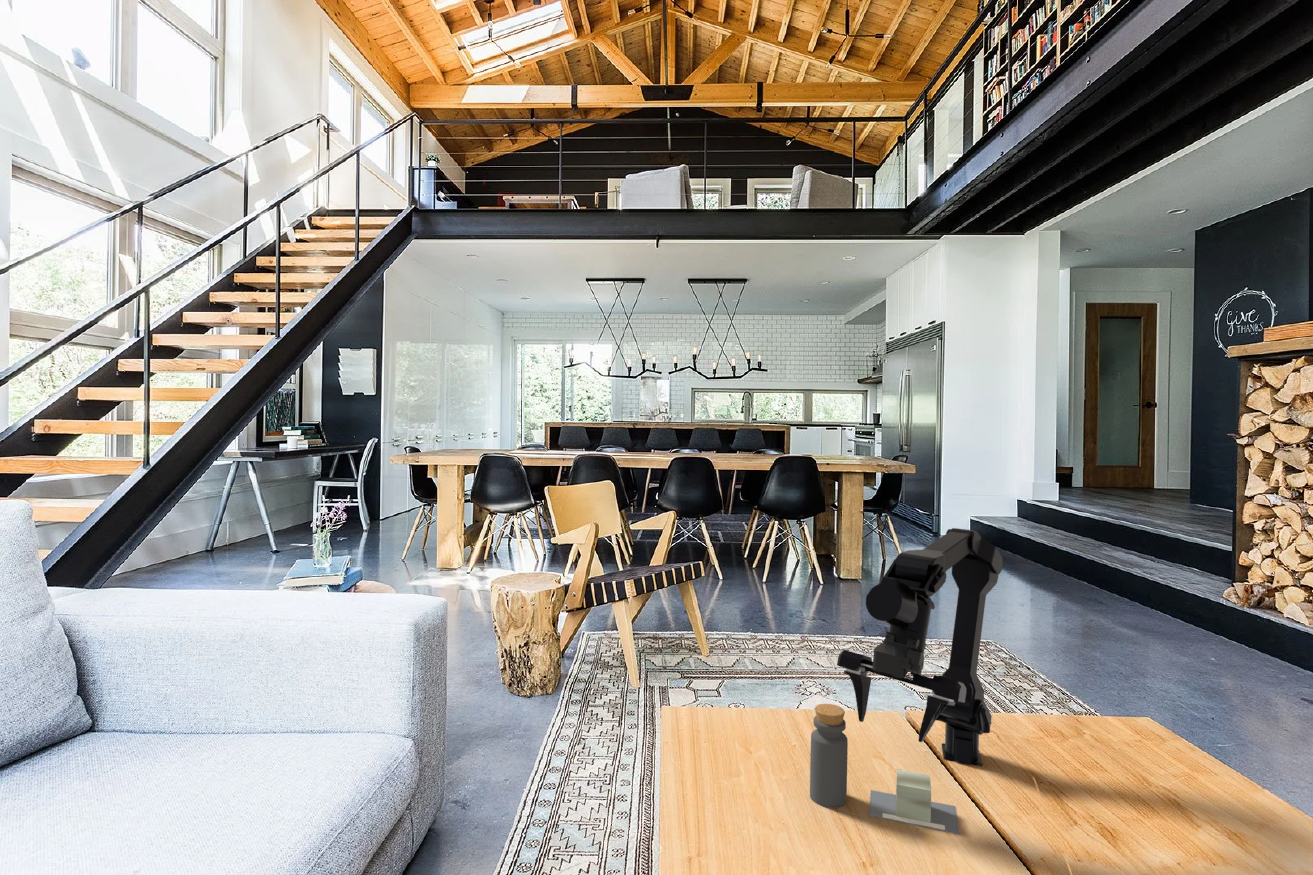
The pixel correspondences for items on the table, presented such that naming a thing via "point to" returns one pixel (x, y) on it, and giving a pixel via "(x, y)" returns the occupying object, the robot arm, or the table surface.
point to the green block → (913, 796)
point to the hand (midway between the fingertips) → (889, 731)
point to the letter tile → (886, 809)
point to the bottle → (828, 757)
